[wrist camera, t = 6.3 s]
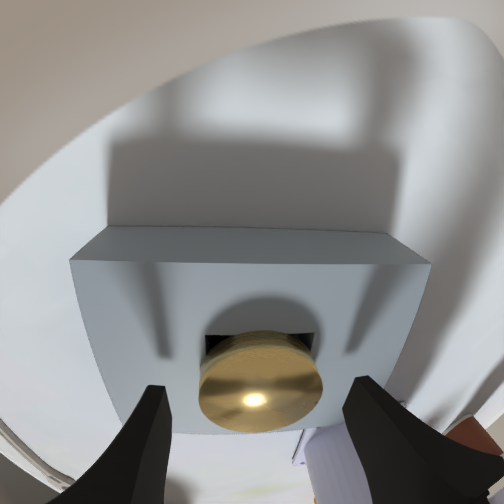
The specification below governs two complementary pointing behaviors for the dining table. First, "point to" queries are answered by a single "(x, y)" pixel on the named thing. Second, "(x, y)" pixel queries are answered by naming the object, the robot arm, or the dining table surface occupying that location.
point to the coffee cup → (472, 435)
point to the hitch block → (243, 307)
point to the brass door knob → (258, 382)
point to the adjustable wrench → (35, 459)
